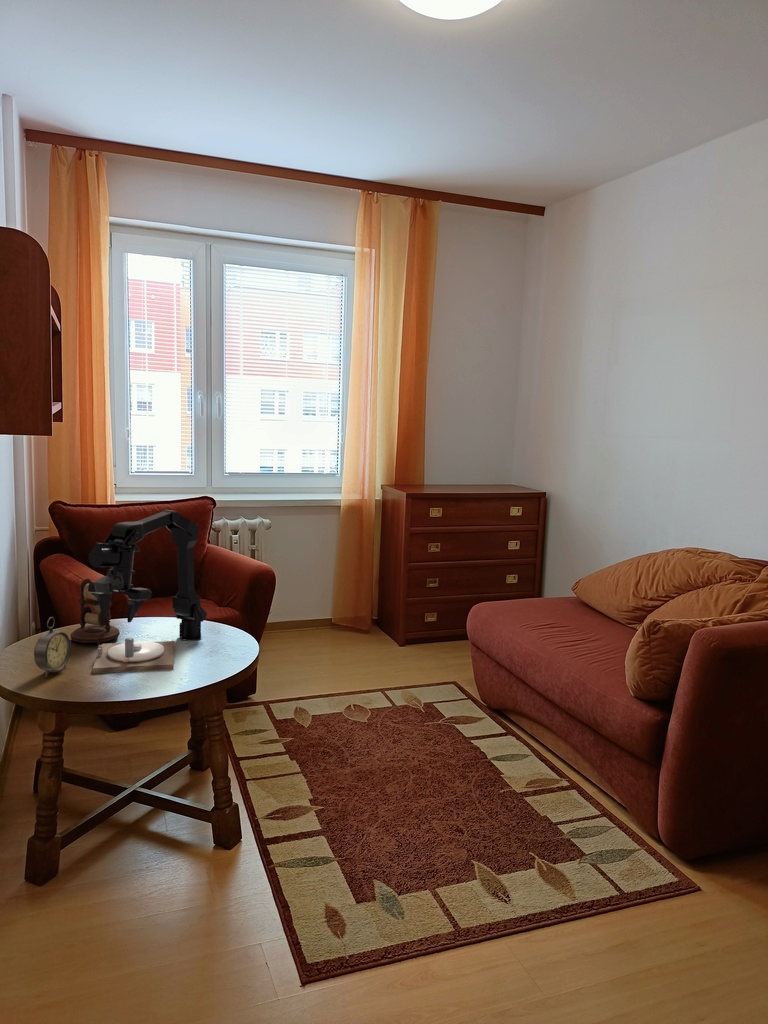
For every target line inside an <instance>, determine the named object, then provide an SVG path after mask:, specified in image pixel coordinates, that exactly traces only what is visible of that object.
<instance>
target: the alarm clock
mask: <svg viewBox="0 0 768 1024" xmlns="http://www.w3.org/2000/svg"><path fill="white" fill-rule="evenodd" d="M51 619H52V620H53V624H52V626H49V622H50V620H51ZM55 623H56V620H55V618H54V617H53V616H50V617H49V618H48V620H47V622H46V626H47V627H46V628H47V629H49V631H48V630H47V631H46V632H44V633H42V634H41V635H40V636H39V638H38V639H37V641H36V642H35V646H34V650H33V658H34V662H35V664H36V666H37V667H38V669H40V670H42V671H44V672H45V675H44V678H45V679H47V678H48V675H49V672H59V671H60V670H62V669H63V668H67V666H66V665H67V664H68V662H69V659H70V657H71V651H72V643H71V638H70V637H69V635H68V633H66V632H64V631H56V630H55V631H54V629H53V628H54V626H55Z"/></svg>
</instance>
